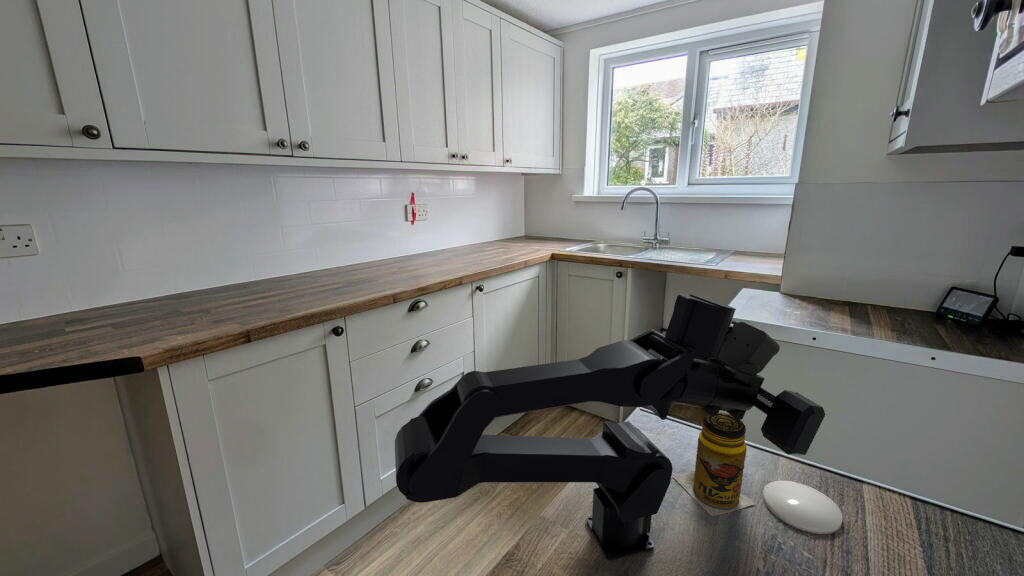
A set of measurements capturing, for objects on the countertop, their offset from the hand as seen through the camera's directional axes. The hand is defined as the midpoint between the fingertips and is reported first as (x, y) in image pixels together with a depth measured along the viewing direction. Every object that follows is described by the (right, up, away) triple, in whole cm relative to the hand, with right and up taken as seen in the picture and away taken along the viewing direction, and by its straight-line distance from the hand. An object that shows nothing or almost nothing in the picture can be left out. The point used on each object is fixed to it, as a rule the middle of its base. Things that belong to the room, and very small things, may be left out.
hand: (788, 398), depth 57 cm
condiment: (-8, -15, +5) cm, 18 cm away
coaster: (+2, -15, +1) cm, 16 cm away
